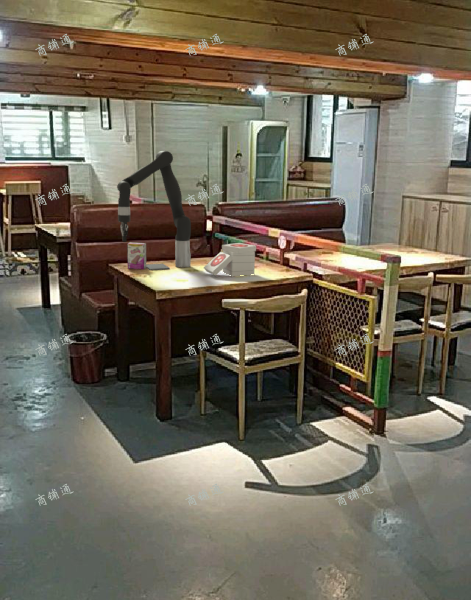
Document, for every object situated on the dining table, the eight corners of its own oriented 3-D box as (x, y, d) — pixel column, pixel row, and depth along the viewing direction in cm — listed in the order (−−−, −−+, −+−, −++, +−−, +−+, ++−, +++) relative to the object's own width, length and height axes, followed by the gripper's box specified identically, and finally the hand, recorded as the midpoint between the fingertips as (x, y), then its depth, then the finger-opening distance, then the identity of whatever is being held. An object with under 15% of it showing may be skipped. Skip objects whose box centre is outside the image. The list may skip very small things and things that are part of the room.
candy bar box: (127, 269, 398) (126, 243, 394) (129, 267, 403) (129, 242, 399) (144, 269, 397) (144, 244, 393) (146, 268, 402) (146, 242, 398)
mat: (162, 265, 414) (162, 263, 414) (169, 269, 400) (169, 267, 399) (143, 266, 409) (143, 264, 409) (149, 270, 395) (149, 268, 395)
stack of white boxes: (202, 273, 389) (202, 244, 385) (246, 270, 401) (246, 242, 397) (213, 279, 372) (214, 249, 368) (259, 276, 384) (259, 246, 380)
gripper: (132, 215, 384) (132, 243, 388) (127, 212, 396) (128, 240, 400) (120, 215, 381) (120, 243, 385) (115, 213, 393) (116, 240, 397)
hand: (124, 241), depth 393 cm, fingers closed
